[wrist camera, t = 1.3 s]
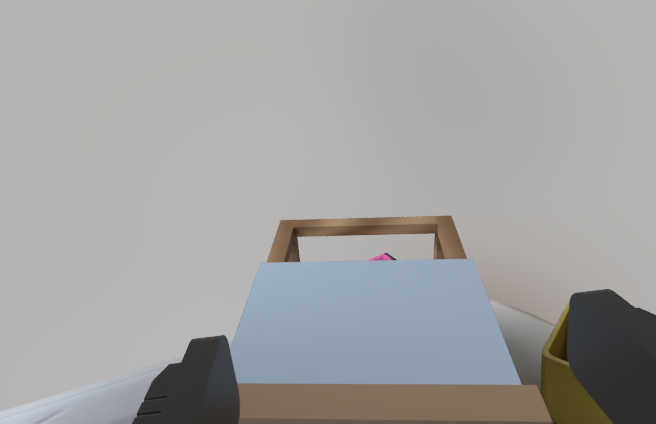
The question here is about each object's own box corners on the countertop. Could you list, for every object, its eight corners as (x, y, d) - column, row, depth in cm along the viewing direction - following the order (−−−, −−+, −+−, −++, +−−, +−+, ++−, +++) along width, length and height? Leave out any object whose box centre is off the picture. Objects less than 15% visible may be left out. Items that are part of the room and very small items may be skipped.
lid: (182, 513, 20) (148, 417, 17) (262, 273, 36) (251, 203, 33) (565, 524, 18) (595, 422, 16) (472, 270, 34) (478, 196, 32)
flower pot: (554, 368, 48) (569, 297, 43) (655, 409, 42) (683, 333, 38) (526, 429, 42) (540, 353, 37) (640, 485, 36) (671, 405, 32)
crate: (269, 524, 36) (234, 360, 28) (297, 354, 51) (280, 220, 44) (479, 531, 34) (504, 360, 27) (442, 354, 50) (451, 215, 42)
